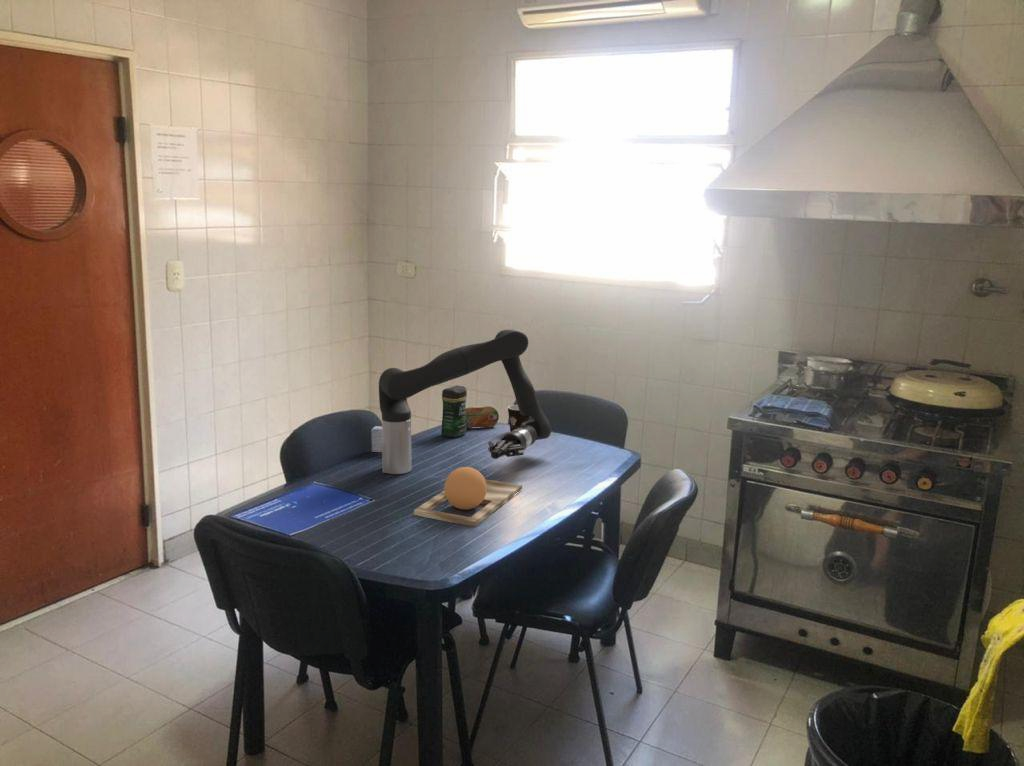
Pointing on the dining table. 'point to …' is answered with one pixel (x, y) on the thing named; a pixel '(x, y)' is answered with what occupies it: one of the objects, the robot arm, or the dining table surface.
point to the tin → (481, 416)
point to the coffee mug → (516, 417)
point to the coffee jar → (454, 411)
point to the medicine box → (377, 439)
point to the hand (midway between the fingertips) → (494, 455)
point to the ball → (465, 488)
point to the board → (493, 499)
